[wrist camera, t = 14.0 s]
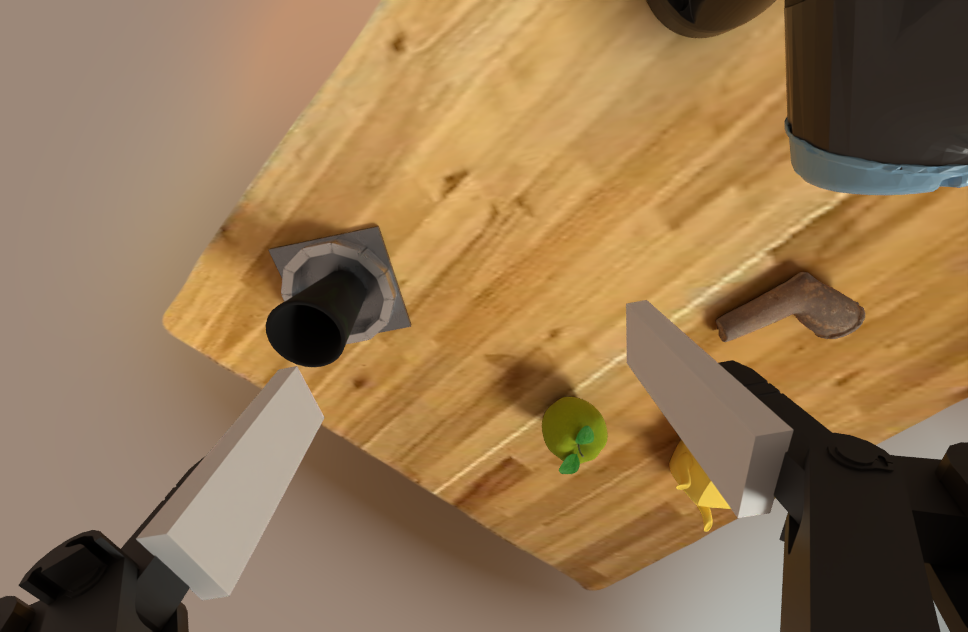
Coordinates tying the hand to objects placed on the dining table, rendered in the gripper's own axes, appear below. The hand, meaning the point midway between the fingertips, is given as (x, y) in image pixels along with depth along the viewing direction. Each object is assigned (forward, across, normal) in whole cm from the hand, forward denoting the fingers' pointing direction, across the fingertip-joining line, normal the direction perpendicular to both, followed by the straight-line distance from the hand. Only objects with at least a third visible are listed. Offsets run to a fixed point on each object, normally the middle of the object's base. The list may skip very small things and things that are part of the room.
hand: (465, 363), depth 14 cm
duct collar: (+32, -18, -6) cm, 37 cm away
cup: (+31, -18, -6) cm, 37 cm away
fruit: (+32, +9, -33) cm, 47 cm away
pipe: (+32, +40, -22) cm, 56 cm away
